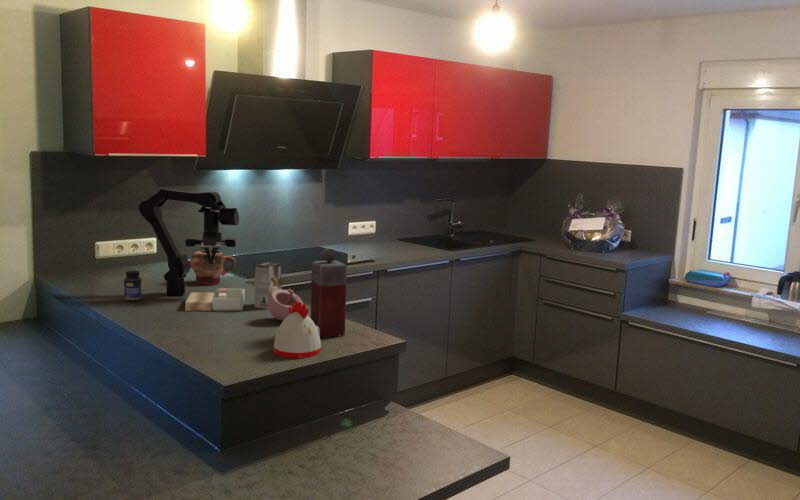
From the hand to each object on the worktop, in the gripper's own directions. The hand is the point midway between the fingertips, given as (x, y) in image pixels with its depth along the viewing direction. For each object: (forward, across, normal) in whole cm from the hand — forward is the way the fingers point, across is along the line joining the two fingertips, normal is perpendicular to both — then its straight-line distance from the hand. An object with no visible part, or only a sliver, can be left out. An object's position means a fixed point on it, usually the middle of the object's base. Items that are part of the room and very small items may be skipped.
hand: (211, 264), depth 266 cm
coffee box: (+13, +22, -16) cm, 30 cm away
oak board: (+13, -3, -14) cm, 20 cm away
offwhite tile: (+10, +4, -19) cm, 22 cm away
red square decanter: (+13, +41, -54) cm, 69 cm away
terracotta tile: (+10, +4, -10) cm, 15 cm away
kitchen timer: (+13, +31, -74) cm, 81 cm away
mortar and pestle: (+13, +28, -38) cm, 49 cm away
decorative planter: (+13, -2, +27) cm, 30 cm away
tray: (+13, +8, -14) cm, 21 cm away
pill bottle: (+13, -28, -6) cm, 32 cm away
